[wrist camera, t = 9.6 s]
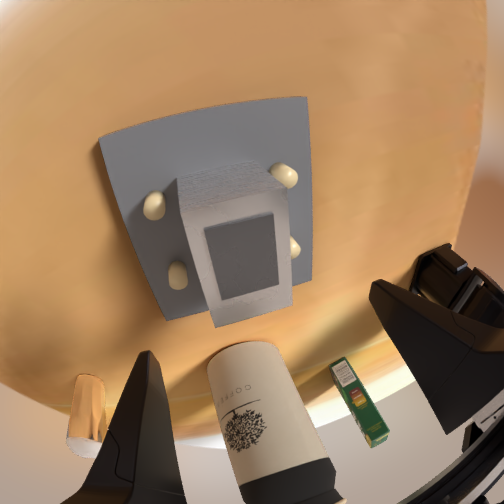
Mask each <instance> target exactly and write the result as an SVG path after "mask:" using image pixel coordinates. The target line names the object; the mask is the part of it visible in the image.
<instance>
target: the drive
mask: <svg viewBox="0 0 504 504" xmlns="http://www.w3.org/2000/svg"><path fill="white" fill-rule="evenodd" d="M177 187H178V196H179V206H180V213H181V217H182V221H183V224H184V228H185V232H186V235H187V239H188V242H189V246H190V249H191V253H192V256H193V260H194V263H195V266H196V270H197V273H198V276H199V279H200V283H201V286H202V289H203V292H204V295H205V298H206V301H207V305H208V308H209V311H210V314H211V317H212V320H213V323H214V326H215V328H217V327H221V326H225V325H228V324H232V323H235V322H239V321H242V320H246V319H249V318H253V317H256V316H259V315H263V314H266V313H269V312H272V311H276V310H279V309H282V308H285V307H288V306H291V305H292V271H291V247H290V227H289V210H288V194H287V187H286V186H284V185H283V184H282V183H281V182H280V181H278V180H277V179H276V178H275V177H274V176H272V175H271V174H270V173H269V172H267V171H266V170H265V169H264V168H262V167H261V166H260V165H259V164H257V163H256V162H255V161H247V162H242V163H237V164H232V165H227V166H223V167H218V168H214V169H209V170H205V171H201V172H196V173H192V174H188V175H184V176H180V177H177Z"/></svg>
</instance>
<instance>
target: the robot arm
mask: <svg viewBox="0 0 504 504" xmlns="http://www.w3.org/2000/svg"><path fill="white" fill-rule="evenodd" d="M451 247H452V245H451V244H450V243H447V244H445V245H443V246H441V247H438V248H436V249H434V250H432V251H429V252H427V253H425V254H422V255H421V256H420V258H419V261H418V264H417V268H416V271H415V275H414V278H413V281H412V284H411V287H410V290H409V291H408V290H405V289H403V288H401V287H398V286H396V285H394V284H392V283H389V282H387V281H385V280H382V279H378V280H376V281H374V282H372V284H371V289H370V293H369V300H370V302H371V304H372V306H373V308H374V310H375V312H376V314H377V316H378V318H379V320H380V322H381V323H382V325H383V327H384V329H385V331H386V332H387V334H388V335H389V337H390V339H391V340H392V342H393V343H394V345H395V346H396V348H397V350H398V351H399V353H400V354H401V356H402V358H403V359H404V361H405V363H406V364H407V366H408V367H409V369H410V371H411V372H412V374H413V376H414V377H415V379H416V381H417V382H418V384H419V386H420V388H421V389H422V391H423V393H424V394H425V396H426V398H427V400H428V402H429V404H430V406H431V407H432V409H433V411H434V413H435V415H436V417H437V419H438V420H439V422H440V424H441V426H442V428H443V430H444V432H445V434H446V435H448V434H449V433H451V432H452V431H453V430H455V429H456V428H458V427H459V426H460V425H462V424H463V423H464V422H466V421H467V420H468V419H470V418H471V417H472V419H473V421H472V422H471V423H470V424H469V425H468V426H467V427H466V428H465V434H464V440H463V446H462V452H463V454H462V455H461V456H460V457H459V458H457V459H456V460H455V461H454V462H453V463H452V464H451V465H449V466H448V467H447V468H446V469H445V470H444V471H442V472H441V473H440V474H439V475H437V476H436V477H435V478H434V479H432V480H431V481H429V482H428V483H427V484H425V485H424V486H423V487H421V488H420V489H419V490H417V491H416V492H414V493H413V494H411V495H410V496H408V497H407V498H405V499H404V500H402V501H400V502H399V503H397V504H489V502H488V500H487V498H486V497H485V496H484V495H485V494H486V493H487V492H488V491H489V490H490V489H491V488H492V486H494V485H495V483H496V482H497V481H498V480H499V479H500V478H501V477H502V475H503V474H504V291H503V290H502V288H501V287H500V286H499V285H498V284H497V283H496V282H495V281H494V280H493V279H492V278H491V277H490V276H488V275H487V274H486V273H485V272H483V271H482V270H480V269H478V268H476V267H474V269H473V270H471V269H470V268H469V267H467V265H468V264H467V262H466V261H465V260H464V259H462V258H461V257H460V256H459V255H458V254H456V253H455V252H454V251H453V250H451ZM482 281H484V284H483V285H482V286H481V283H482ZM417 294H419V295H420V296H419V295H417ZM108 429H109V430H107V433H106V435H105V438H104V440H103V443H102V445H101V448H100V450H99V452H98V455H97V457H96V459H95V461H94V463H93V465H92V467H91V469H90V471H89V473H88V475H87V477H86V480H85V482H84V483H83V485H82V487H81V488H80V489H79V490H78V491H77V492H76V493H75V494H74V495H72V496H71V497H69V498H68V499H66V500H65V501H63V502H62V503H60V504H187V502H186V498H185V496H184V495H185V494H184V490H183V485H182V481H181V476H180V472H179V467H178V462H177V456H176V450H175V445H174V439H173V432H172V426H171V419H170V411H169V404H168V399H167V395H166V390H165V386H164V382H163V377H162V372H161V368H160V364H159V362H158V361H157V359H156V358H155V356H154V355H153V353H152V352H151V351H150V350H148V351H143V352H140V353H139V355H138V357H137V360H136V362H135V364H134V366H133V369H132V371H131V373H130V376H129V378H128V380H127V383H126V385H125V387H124V390H123V392H122V395H121V397H120V400H119V402H118V404H117V407H116V409H115V412H114V415H113V417H112V420H111V422H110V425H109V427H108ZM497 504H504V500H503V501H502V502H501V503H497Z"/></svg>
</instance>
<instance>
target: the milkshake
mask: <svg viewBox="0 0 504 504" xmlns="http://www.w3.org/2000/svg"><path fill="white" fill-rule="evenodd" d="M106 433H107V422H106V410H105V395H104V384H103V382H102V381H101V379H99V378H97V377H95V376H93V375H87V374H83V375H78V377H77V380H76V384H75V390H74V395H73V401H72V407H71V414H70V419H69V425H68V431H67V438H66V443H67V445H68V447H69V448H70V449H71V451H72V452H73V453H75V454H77V455H79V456H81V457H83V458H88V457H89V458H90V457H91V458H96V457H97V455H98V452H99V450H100V448H101V445H102V443H103V440H104V438H105V435H106Z"/></svg>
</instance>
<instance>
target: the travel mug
mask: <svg viewBox="0 0 504 504" xmlns="http://www.w3.org/2000/svg"><path fill="white" fill-rule="evenodd" d="M207 375H208V379H209V383H210V388H211V392H212V396H213V400H214V404H215V408H216V412H217V416H218V419H219V423H220V427H221V430H222V434H223V438H224V441H225V445H226V448H227V451H228V455H229V458H230V461H231V465H232V468H233V471H234V474H235V477H236V480H237V483H238V486H239V489H240V492H241V495H242V498H243V501H244V502H245V503H246V504H345V503H346V502H347V500H346V499H345V498H342V497H341V496H340V495H339V493H338V492H337V491H336V489H334V484H335V476H336V470H335V468H334V466H333V464H332V462H331V460H330V458H329V456H328V454H327V452H326V450H325V448H324V446H323V444H322V441H321V439H320V437H319V435H318V433H317V431H316V429H315V427H314V425H313V423H312V420H311V418H310V416H309V414H308V412H307V410H306V408H305V406H304V404H303V401H302V399H301V397H300V395H299V393H298V391H297V389H296V386H295V384H294V382H293V380H292V378H291V376H290V373H289V371H288V369H287V367H286V365H285V363H284V360H283V358H282V356H281V354H280V352H279V350H278V348H277V347H276V346H275V345H273V344H271V343H268V342H262V341H252V342H245V343H240V344H237V345H234V346H231V347H229V348H226V349H224V350H223V351H221V352H219V353H218V354H217V355H215V356H214V357H213V358H212V359H211V361H210V362H209V364H208V366H207Z"/></svg>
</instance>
